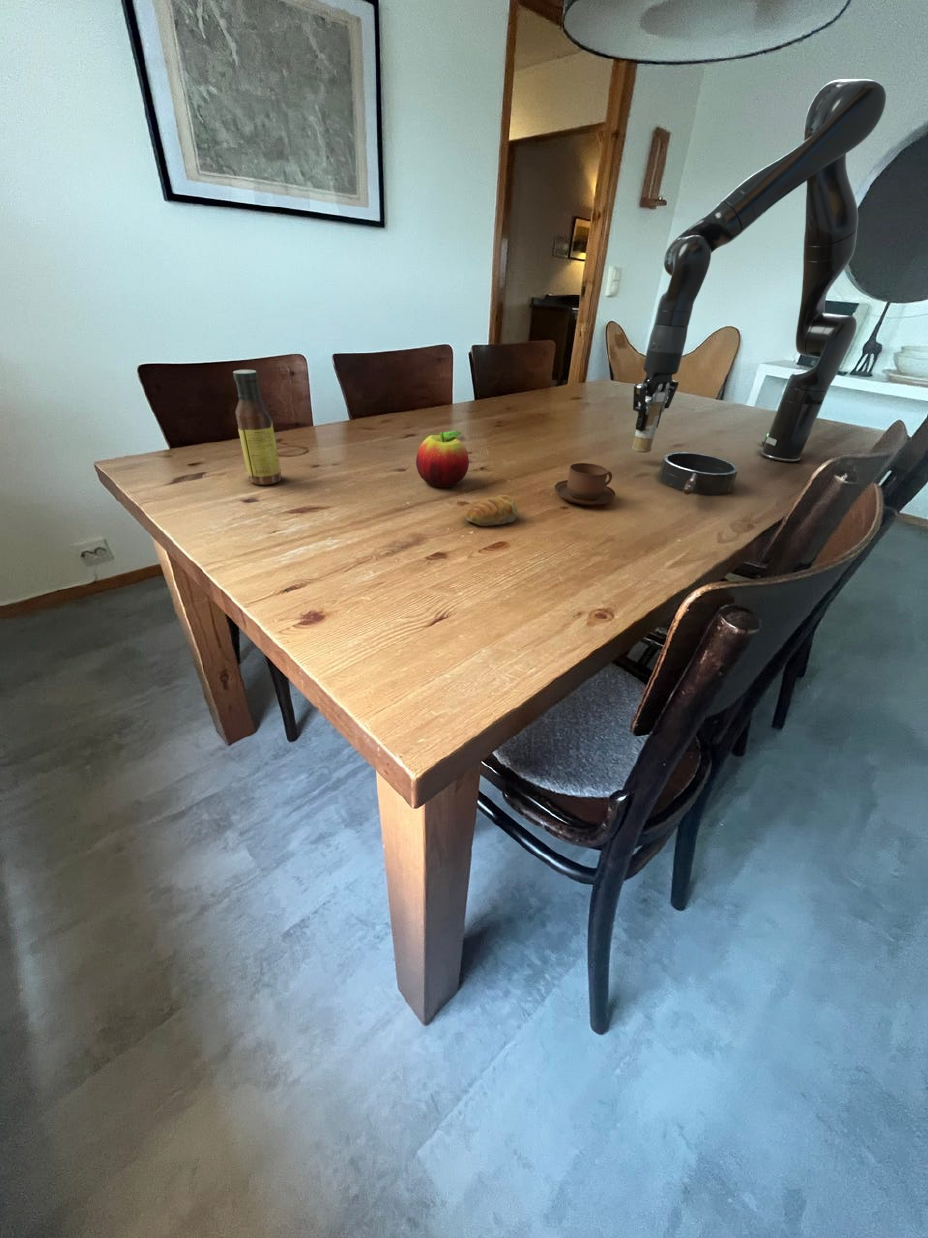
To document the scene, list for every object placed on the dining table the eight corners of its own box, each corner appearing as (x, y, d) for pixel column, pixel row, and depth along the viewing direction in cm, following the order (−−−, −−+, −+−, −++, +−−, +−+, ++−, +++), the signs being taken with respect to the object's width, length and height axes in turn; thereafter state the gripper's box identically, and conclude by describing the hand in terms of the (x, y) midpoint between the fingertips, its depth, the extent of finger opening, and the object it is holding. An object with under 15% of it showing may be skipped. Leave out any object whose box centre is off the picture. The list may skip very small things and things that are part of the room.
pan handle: (688, 479, 111) (691, 471, 110) (697, 481, 111) (700, 473, 110) (681, 494, 103) (683, 485, 102) (690, 496, 103) (693, 487, 102)
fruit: (404, 481, 108) (404, 431, 102) (441, 470, 115) (443, 423, 109) (441, 496, 102) (443, 444, 96) (478, 484, 109) (482, 435, 103)
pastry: (481, 532, 89) (483, 510, 87) (457, 518, 94) (458, 498, 91) (521, 520, 94) (523, 500, 92) (496, 508, 99) (497, 488, 97)
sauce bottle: (288, 479, 105) (274, 371, 94) (266, 488, 100) (248, 375, 89) (263, 473, 107) (246, 366, 96) (240, 482, 102) (219, 370, 91)
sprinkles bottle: (628, 450, 126) (641, 390, 119) (636, 446, 129) (650, 388, 122) (646, 454, 124) (660, 394, 117) (654, 450, 127) (668, 391, 119)
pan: (653, 468, 125) (658, 449, 123) (720, 474, 124) (726, 455, 122) (665, 490, 112) (671, 470, 110) (740, 498, 111) (747, 477, 109)
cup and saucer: (575, 484, 112) (581, 455, 109) (624, 501, 106) (632, 471, 102) (541, 496, 105) (545, 466, 102) (591, 515, 98) (597, 483, 95)
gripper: (660, 352, 108) (640, 436, 118) (699, 349, 116) (677, 429, 125) (631, 347, 113) (614, 428, 123) (669, 344, 120) (651, 422, 130)
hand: (646, 428), depth 124 cm, fingers closed on sprinkles bottle, 4 cm apart
